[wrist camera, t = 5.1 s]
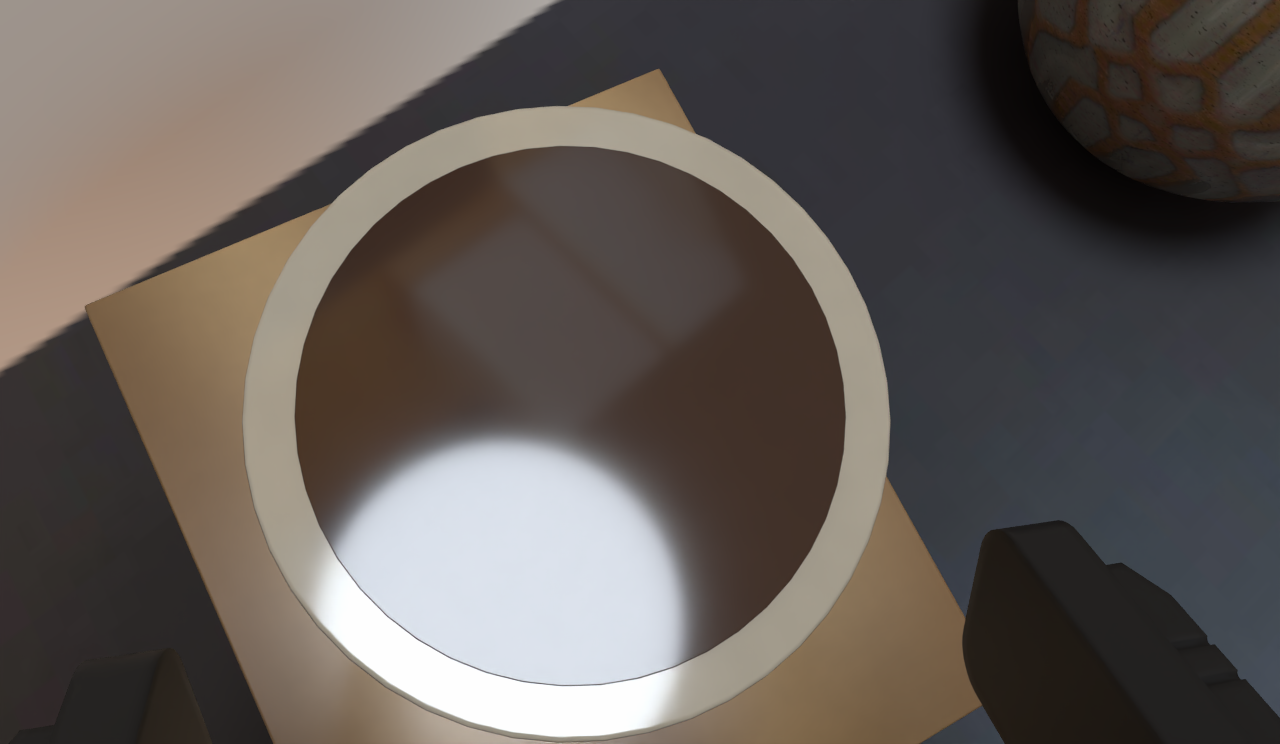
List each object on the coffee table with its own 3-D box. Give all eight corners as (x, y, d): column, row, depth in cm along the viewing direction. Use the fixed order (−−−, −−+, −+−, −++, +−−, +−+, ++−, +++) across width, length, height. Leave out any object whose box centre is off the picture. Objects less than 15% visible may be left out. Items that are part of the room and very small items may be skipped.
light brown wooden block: (445, 903, 25) (408, 1056, 16) (221, 404, 27) (83, 305, 19) (852, 667, 28) (1007, 691, 19) (617, 227, 30) (659, 67, 21)
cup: (465, 749, 18) (414, 883, 9) (313, 422, 19) (133, 249, 10) (780, 576, 19) (1009, 543, 10) (623, 280, 20) (709, 17, 11)
